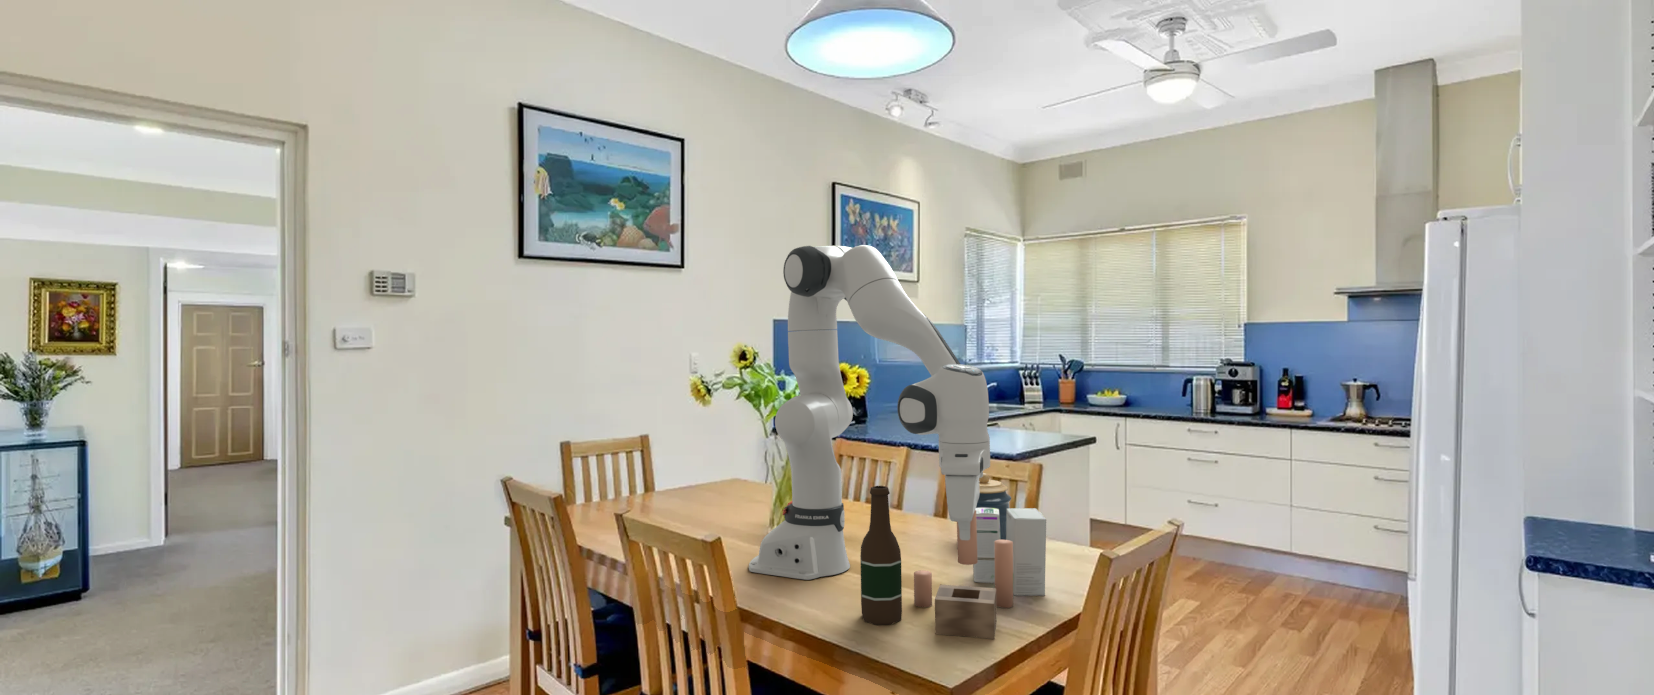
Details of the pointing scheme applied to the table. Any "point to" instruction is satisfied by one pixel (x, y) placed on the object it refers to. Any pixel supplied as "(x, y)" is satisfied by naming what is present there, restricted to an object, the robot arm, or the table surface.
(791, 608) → the table surface
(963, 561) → the pin medium
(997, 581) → the pin long
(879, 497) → the beer bottle
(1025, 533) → the skincare box
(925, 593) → the pin short
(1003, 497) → the canister
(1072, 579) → the table surface
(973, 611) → the hole block
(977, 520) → the syrup box
